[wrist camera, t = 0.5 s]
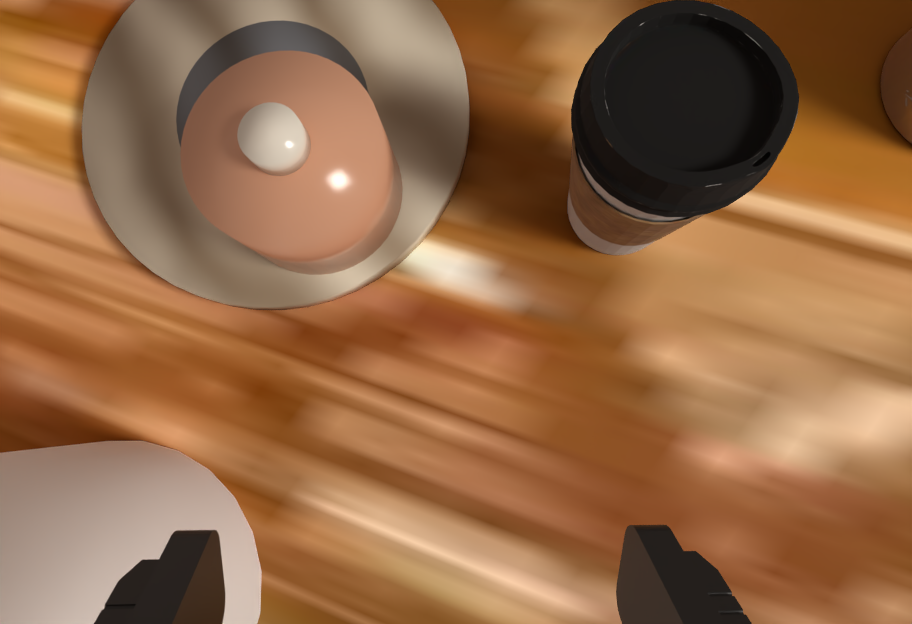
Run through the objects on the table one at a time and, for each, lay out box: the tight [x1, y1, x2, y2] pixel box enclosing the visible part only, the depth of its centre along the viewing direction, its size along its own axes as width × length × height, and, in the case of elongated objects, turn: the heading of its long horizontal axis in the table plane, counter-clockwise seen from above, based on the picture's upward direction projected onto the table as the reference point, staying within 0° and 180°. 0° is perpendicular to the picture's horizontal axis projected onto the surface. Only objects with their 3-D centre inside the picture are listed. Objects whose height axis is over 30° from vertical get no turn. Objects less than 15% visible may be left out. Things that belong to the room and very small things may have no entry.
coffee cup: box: [568, 0, 799, 255], centre depth 31 cm, size 8×8×15 cm
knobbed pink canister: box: [180, 51, 403, 275], centre depth 34 cm, size 10×10×9 cm
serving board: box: [82, 0, 470, 310], centre depth 39 cm, size 24×24×2 cm
